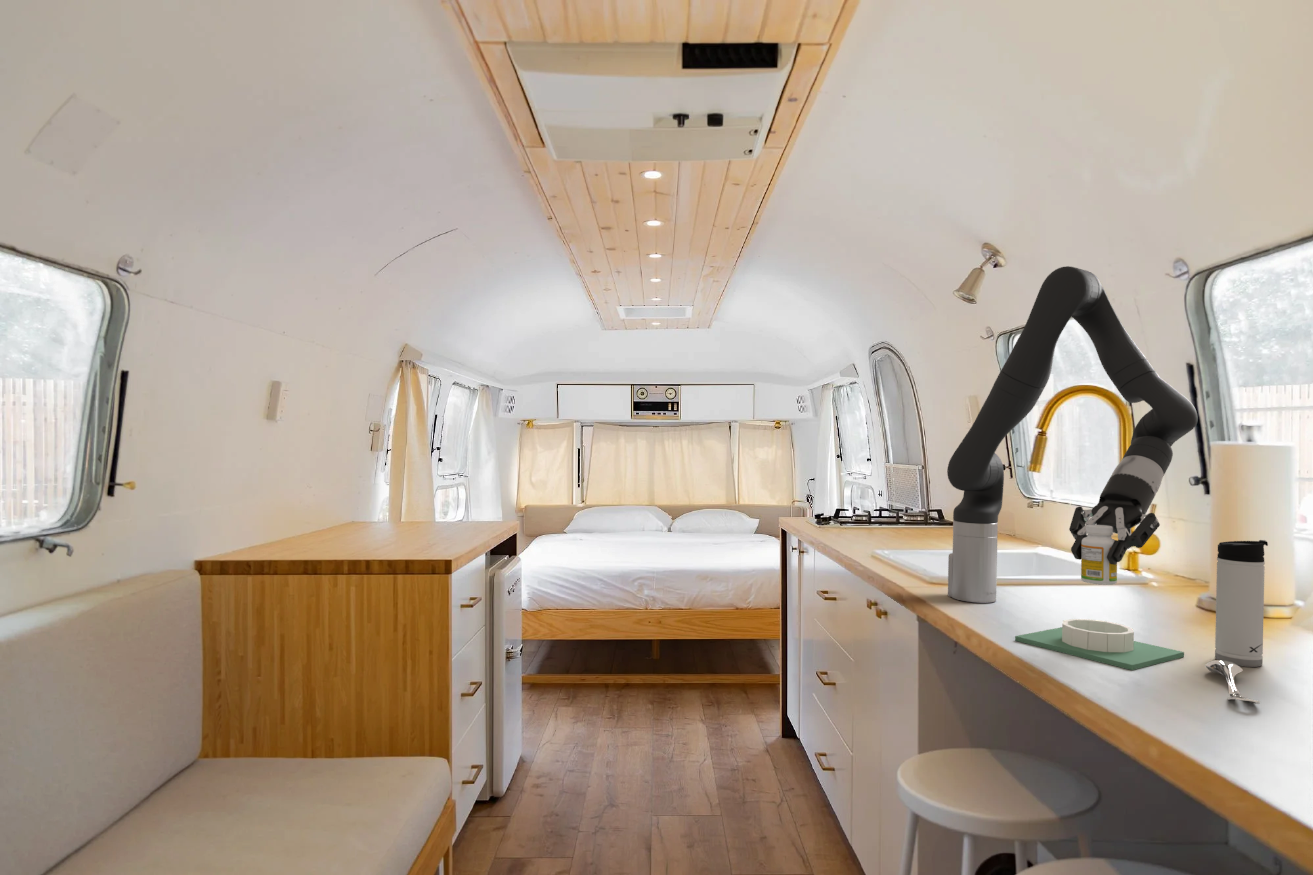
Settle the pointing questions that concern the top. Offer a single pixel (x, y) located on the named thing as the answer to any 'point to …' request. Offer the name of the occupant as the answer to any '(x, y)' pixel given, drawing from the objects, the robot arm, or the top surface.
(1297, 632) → the top surface
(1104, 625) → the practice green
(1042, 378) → the robot arm
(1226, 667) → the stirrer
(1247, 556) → the travel mug
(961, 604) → the top surface
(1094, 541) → the supplement bottle
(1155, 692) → the top surface
